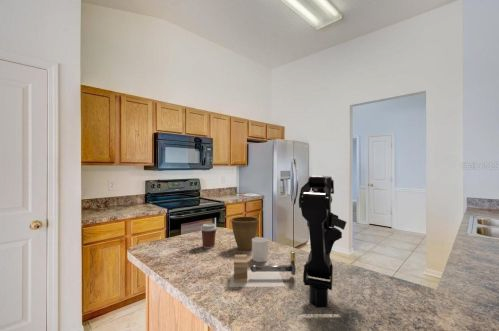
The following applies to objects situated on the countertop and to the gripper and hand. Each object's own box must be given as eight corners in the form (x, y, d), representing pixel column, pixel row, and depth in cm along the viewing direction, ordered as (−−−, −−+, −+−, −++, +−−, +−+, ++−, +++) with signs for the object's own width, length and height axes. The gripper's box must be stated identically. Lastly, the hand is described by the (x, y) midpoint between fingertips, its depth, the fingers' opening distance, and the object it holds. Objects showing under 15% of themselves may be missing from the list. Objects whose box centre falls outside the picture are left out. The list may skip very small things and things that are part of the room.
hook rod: (296, 277, 90) (296, 254, 90) (250, 277, 89) (250, 254, 89) (293, 271, 94) (293, 250, 95) (250, 272, 94) (250, 250, 94)
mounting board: (284, 288, 85) (284, 286, 85) (229, 289, 84) (229, 286, 84) (278, 271, 99) (278, 269, 99) (231, 272, 98) (231, 270, 98)
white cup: (248, 262, 109) (248, 240, 109) (256, 256, 116) (256, 236, 116) (264, 265, 105) (264, 243, 106) (270, 259, 112) (271, 238, 113)
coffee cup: (198, 245, 133) (198, 224, 133) (213, 243, 137) (213, 222, 137) (203, 250, 125) (203, 227, 125) (219, 247, 129) (219, 225, 129)
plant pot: (259, 244, 135) (259, 216, 135) (256, 253, 120) (256, 222, 120) (234, 243, 137) (234, 215, 137) (228, 252, 122) (228, 221, 123)
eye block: (247, 282, 88) (247, 262, 88) (233, 282, 87) (234, 262, 88) (246, 273, 96) (247, 254, 96) (234, 273, 95) (234, 254, 96)
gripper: (356, 213, 80) (356, 259, 80) (332, 205, 99) (332, 242, 99) (325, 214, 79) (325, 260, 79) (306, 205, 98) (306, 243, 98)
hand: (322, 250), depth 89 cm, fingers open, 9 cm apart
